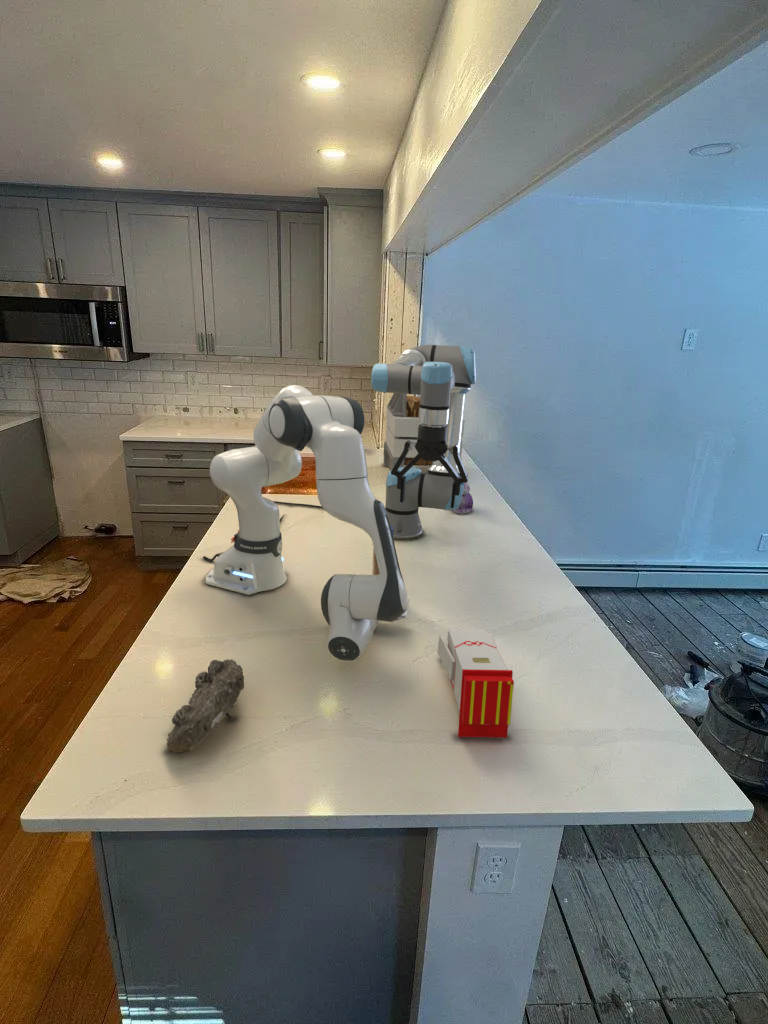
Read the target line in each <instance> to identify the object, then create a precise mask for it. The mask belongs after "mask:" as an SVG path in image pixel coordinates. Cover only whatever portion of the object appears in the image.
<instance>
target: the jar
mask: <svg viewBox="0 0 768 1024" xmlns="http://www.w3.org/2000/svg"><path fill="white" fill-rule="evenodd" d="M378 574H380V573H379V568H378V564H377V559H376V555H375V550H374V546H373V548H372V574H371V575H378Z"/></svg>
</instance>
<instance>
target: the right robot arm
mask: <svg viewBox="0 0 768 1024" xmlns="http://www.w3.org/2000/svg"><path fill="white" fill-rule="evenodd" d="M476 369H477V368H476V353H475V350H474V349H473V348H472V347H470V346H462V345H444V344H443V345H441V344H422V345H418V346H413V347H411V348H408V349H406V350H404V351H403V352H402V353H400V354H399V356H398V358H397V359H395V360H394V361H392V362H391V363H385V362H383V363H375V364H374V365H373V367H372V369H371V374H370V375H371V376H370V377H371V378H370V384H371V388H372V390H373V391H374V392H379V393H383V394H386V393H387V394H394V393H403V394H407V395H414V396H415V395H417V396H419V397H420V407H419V421H418V422H419V423H420V425H419V426H418V437H417V442H416V443H414V442H411V441H410V440H408V441H406V443H405V445H404V450H403V452H402V454H401V455H400V457H399V459H398V461H397V462H396V464H395V466H394V467H393V469H392V470H391V471H390V470H389V472H388V473H387V475H386V482H385V504H384V507H385V509H386V512H387V515H388V519H389V523H390V526H392V527H393V540H394V541H410V540H415V539H418V538H420V537H421V536H422V535H423V525H422V523H421V518H420V515H419V508H425V509H435V510H443V511H453V510H456V509H458V507H459V505H460V501H461V497H462V493H463V489H464V485H465V483H466V482H468V481H469V474H468V475H467V470H466V468H465V466H464V463H463V460H461V458H462V457H461V458H460V455H459V452H460V442H461V440H462V438H461V432H462V422H463V419H464V412H465V411H464V410H465V401H466V395H467V393H468V392H470V391H471V386H472V385H476V379H477V378H476V377H477V374H476V372H477V371H476ZM413 447H415V449H416V450H417V452H418V454H417V455H416V456H415V457H414V458H413V459H412V460H411V461H410V462H409V463H408V464H407V465H404V467H400V465H401V464H402V462H403V460H404V459H405V457H406V455H407V454H408V452H409V450H412V448H413ZM420 458H422V459H423V460H424V461H428V460H431V461H433V464H432V465H430V466H428V468H427V473H423V472H422V469H421V468H420V467H417V466H413V465H414V464H415V463H416V462H417V461H418V460H419V459H420ZM399 467H400V468H399ZM272 501H273V502H274V503H276V505H277V504H279V505H287V506H299V507H308V508H309V507H310V508H317V509H323V507H322V506H321V505H316V504H307V503H297V502H296V503H295V502H287V501H285V502H284V501H276V500H272ZM323 510H324V509H323Z"/></svg>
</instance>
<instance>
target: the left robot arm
mask: <svg viewBox="0 0 768 1024" xmlns="http://www.w3.org/2000/svg"><path fill="white" fill-rule="evenodd" d="M262 413H263V414H262V415H261V417H260V419H259V420H258V422H257V423H256V426H255V427H254V429H253V441H254V446H248V447H241V448H233V449H229V450H227V451H224V452H221V453H219V454H216V455H215V456H214V457H212V460H211V462H210V465H209V477H210V480H211V481H212V483H213V485H214V486H215V487H216V488H217V489H218V490H220V491H222V492H223V493H224V494H226V495H227V496H228V497H229V498H230V499H231V500H232V502H233V503H234V505H235V508H236V509H235V510H236V512H237V519H238V530H237V532H236V533H235V534H234V535H233V537H231V539H230V543H231V544H232V543H234V544H233V545H231V546H230V547H229V548H227V549H226V550H224V551H221V552H219V553H216V554H214V556H213V557H212V558H210V557H207V556H205V555H203V556H202V559H203V560H206V561H207V562H213V561H214V566H213V569H211V570H210V571H209V572H208V573H207V575H206V576H205V584H206V585H209V586H213V587H217V588H221V589H224V590H228V591H232V592H236V593H239V594H243V595H249V596H250V595H251V596H252V595H254V594H257V593H259V592H266V591H271V590H274V589H278V588H279V587H281V586H283V585H284V584H286V582H287V580H288V579H287V578H288V577H287V574H286V571H285V567H284V563H283V562H284V557H283V556H282V552H283V537H282V532H281V522H280V519H281V517H280V508H279V506H278V505H277V503H274V502H273V501H274V500H271V499H269V498H268V497H264V496H263V493H262V489H263V488H265V487H270V486H275V485H281V484H283V483H286V482H289V481H291V480H294V479H295V478H297V477H298V476H299V475H300V473H301V471H302V469H303V468H302V467H303V458H302V455H301V453H300V452H302V451H303V450H304V449H305V448H308V449H309V450H310V451H311V452H312V453H313V455H314V460H315V461H314V462H315V482H316V483H315V486H316V494H317V499H318V501H319V504H320V505H319V506H322V507H323V510H324V512H326V513H327V514H328V515H329V516H331V517H333V518H335V520H336V519H337V520H338V521H341V522H344V523H347V524H349V525H352V526H354V527H356V528H359V529H361V530H362V531H364V532H365V533H366V534H367V535H368V537H369V538H370V539H371V542H372V545H373V546H374V550H375V555H376V559H377V564H378V568H379V573H380V574H378V575H372V574H356V573H340V574H339V573H337V574H333V575H332V576H331V577H329V579H328V580H327V581H326V583H325V584H324V586H323V588H322V591H321V595H320V608H321V613H322V615H323V618H324V619H325V621H326V623H327V624H328V626H329V631H328V635H327V636H328V637H327V643H326V644H327V645H326V646H327V650H328V652H329V653H330V655H331V656H332V657H334V658H335V659H337V660H339V661H344V662H352V661H355V660H357V659H359V658H360V657H361V656H362V655H363V654H364V652H365V651H366V650H367V647H368V646H369V644H370V642H371V640H372V637H373V634H374V632H375V630H376V628H377V626H378V624H379V621H381V622H388V623H393V622H395V621H400V620H403V619H405V618H406V617H407V615H408V611H409V609H410V608H409V607H410V597H409V596H408V591H407V587H406V584H405V581H404V577H403V574H402V571H401V567H400V563H399V558H398V553H397V549H396V544H395V539H393V535H392V531H391V527H390V523H389V519H388V515H387V512H386V509H385V504H384V503H383V502H382V501H381V500H378V499H376V497H375V496H374V494H373V492H372V490H371V488H370V483H369V477H368V476H369V475H368V474H369V473H368V466H367V457H366V452H365V447H364V442H363V437H362V438H361V436H362V433H363V431H364V427H365V422H366V421H365V413H364V410H363V407H362V405H361V404H360V402H358V401H357V400H356V399H353V398H352V397H348V396H344V395H343V396H342V395H338V396H335V395H326V394H316V395H315V394H313V393H312V392H311V391H310V390H309V389H308V388H306V387H304V386H302V385H298V384H289V385H287V386H285V387H283V388H282V389H280V391H279V392H278V393H277V394H276V395H275V396H274V397H273V399H272V400H271V401H270V402H269V404H268V405H267V407H266V408H265V410H264V412H262Z"/></svg>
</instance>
